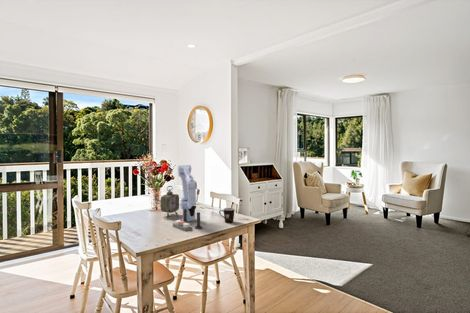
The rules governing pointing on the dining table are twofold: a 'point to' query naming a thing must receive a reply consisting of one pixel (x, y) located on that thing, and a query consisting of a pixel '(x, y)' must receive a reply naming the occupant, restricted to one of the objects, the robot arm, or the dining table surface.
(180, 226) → the breaker panel
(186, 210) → the cord post left
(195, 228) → the cord post right
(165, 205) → the tabletop clock
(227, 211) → the coffee mug
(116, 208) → the dining table surface
